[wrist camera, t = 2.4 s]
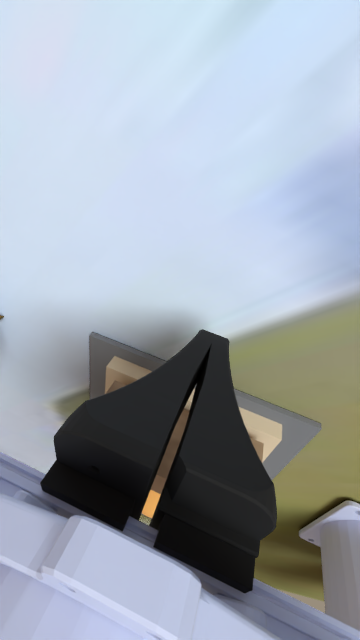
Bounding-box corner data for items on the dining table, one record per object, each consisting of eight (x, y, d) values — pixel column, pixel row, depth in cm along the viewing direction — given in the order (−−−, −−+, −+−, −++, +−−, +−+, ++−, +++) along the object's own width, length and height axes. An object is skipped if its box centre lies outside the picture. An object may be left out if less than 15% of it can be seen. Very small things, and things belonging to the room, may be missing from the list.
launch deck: (321, 423, 17) (325, 461, 15) (194, 556, 38) (189, 579, 36) (92, 332, 19) (70, 354, 17) (91, 504, 40) (81, 524, 38)
